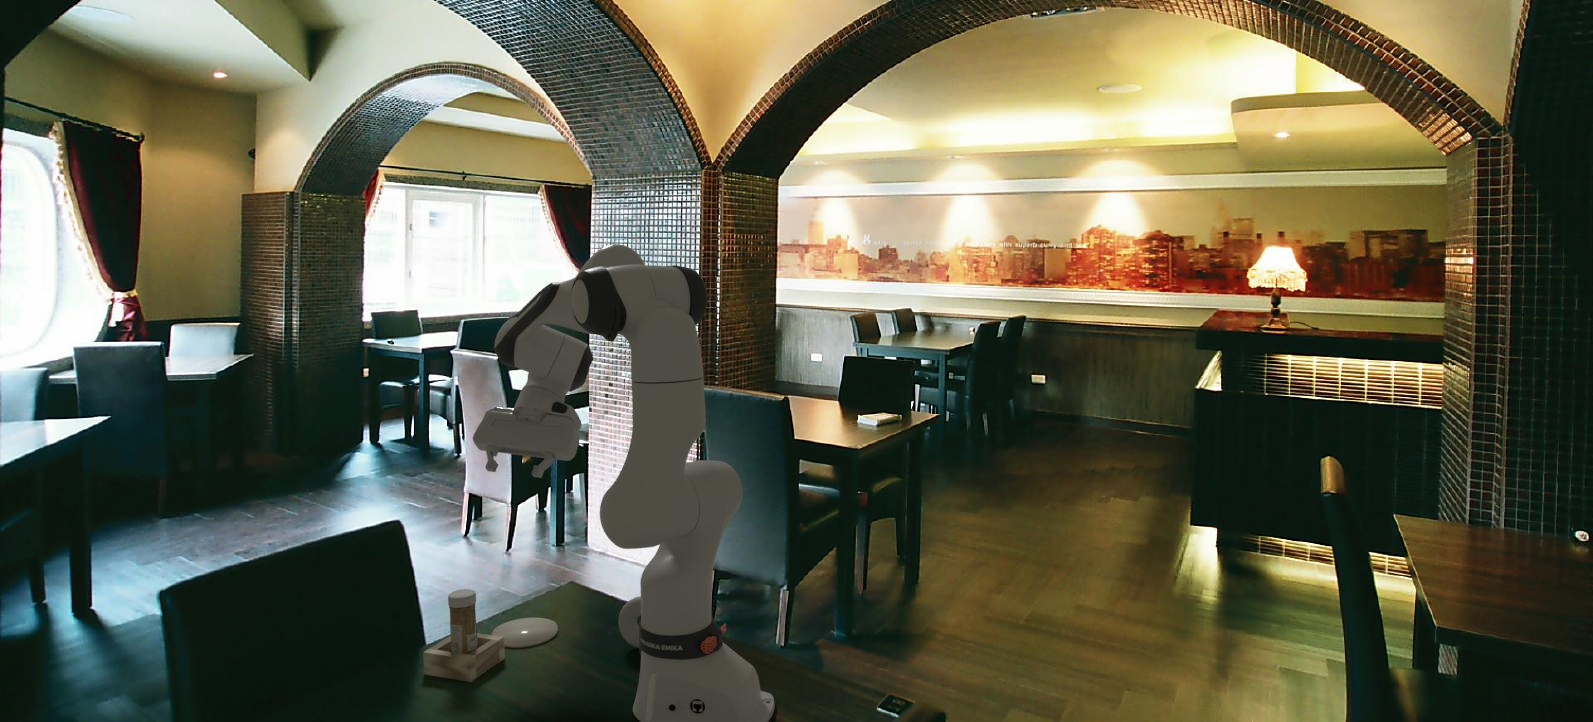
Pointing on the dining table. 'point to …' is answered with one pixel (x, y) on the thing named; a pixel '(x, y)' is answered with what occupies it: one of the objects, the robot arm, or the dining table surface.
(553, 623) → the white domed disc
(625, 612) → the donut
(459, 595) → the sprinkles bottle
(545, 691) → the dining table surface
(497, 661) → the holder collar
